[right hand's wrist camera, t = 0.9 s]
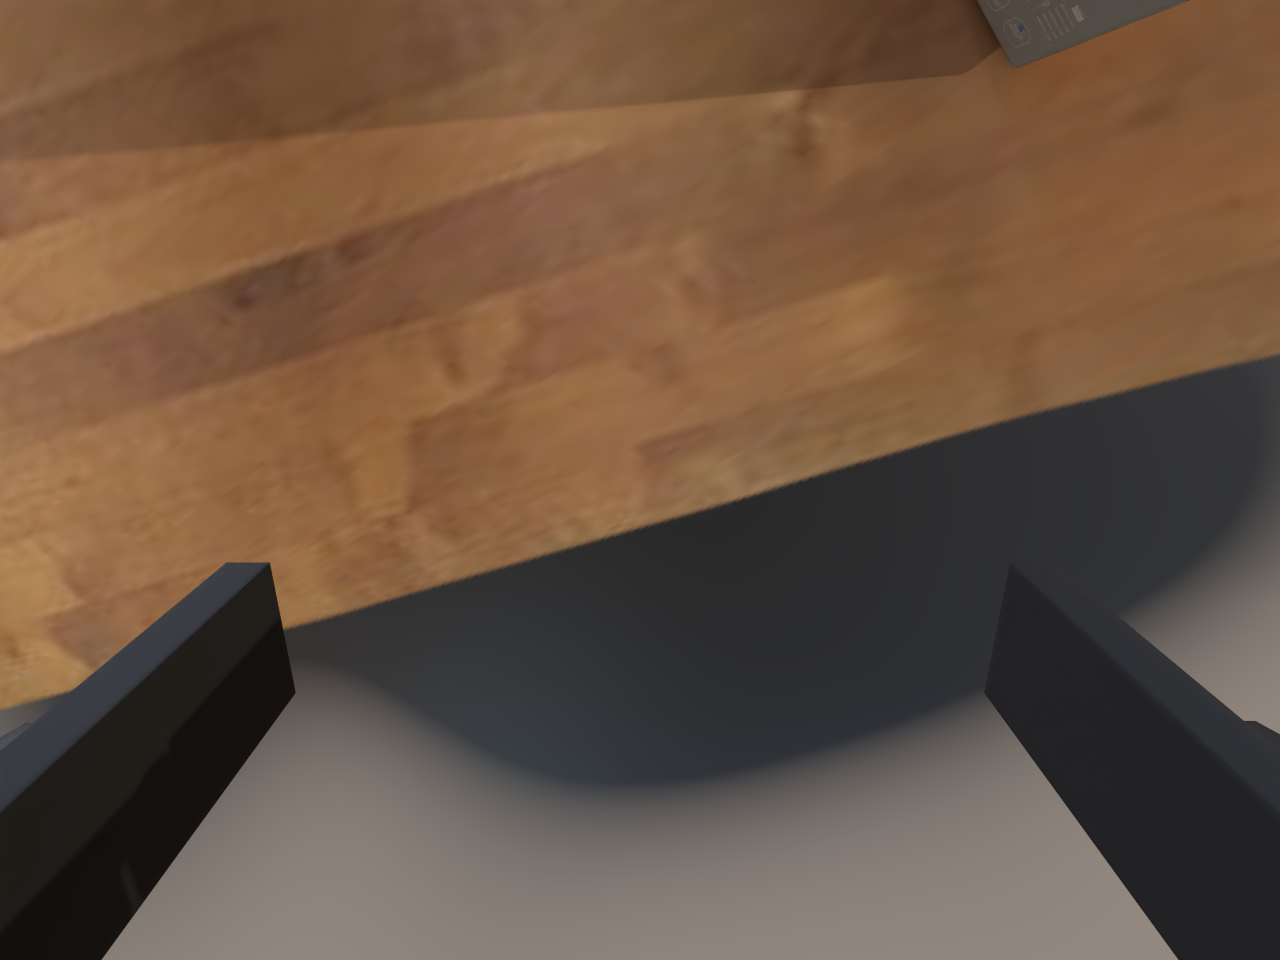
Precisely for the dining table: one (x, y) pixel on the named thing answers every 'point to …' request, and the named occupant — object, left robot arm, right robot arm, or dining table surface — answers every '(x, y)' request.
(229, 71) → the dining table surface
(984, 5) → the hard drive box
